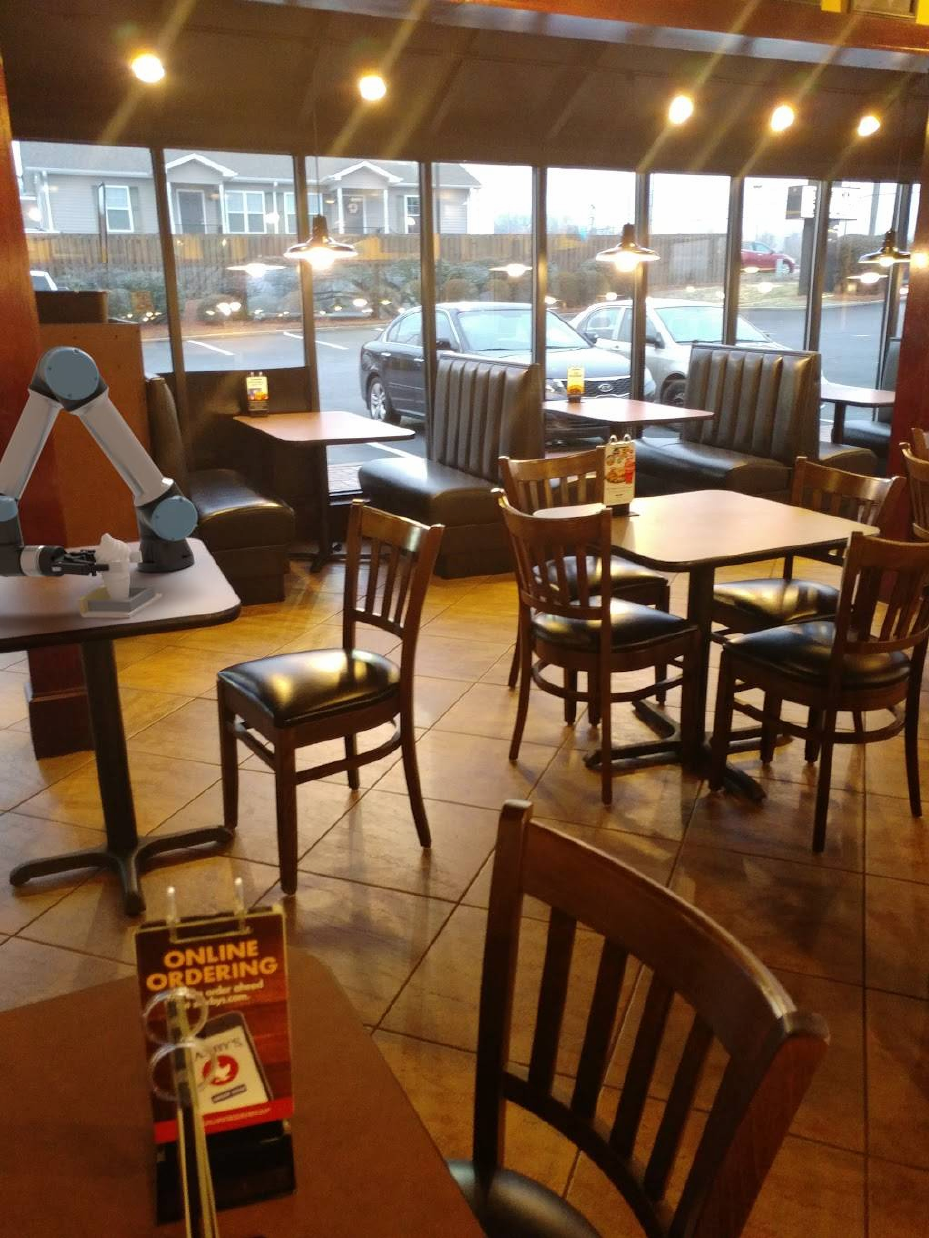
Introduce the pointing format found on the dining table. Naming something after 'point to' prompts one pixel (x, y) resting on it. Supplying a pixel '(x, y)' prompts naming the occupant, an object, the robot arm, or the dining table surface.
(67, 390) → the robot arm
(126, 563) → the soft serve ice cream cone
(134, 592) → the grey shallow tray
